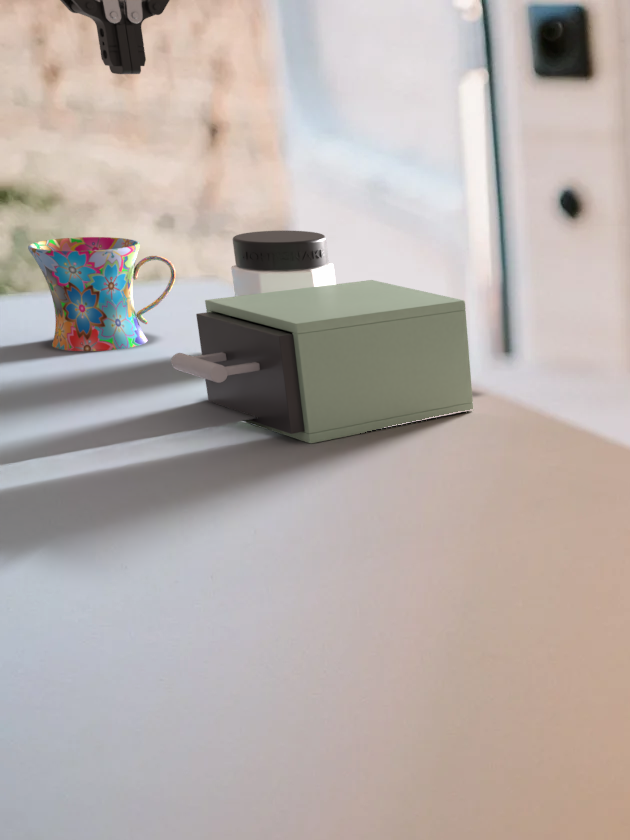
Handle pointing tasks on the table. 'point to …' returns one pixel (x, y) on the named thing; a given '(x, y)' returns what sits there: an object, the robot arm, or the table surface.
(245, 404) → the dark drawer with handle
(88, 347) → the mug
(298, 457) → the table surface
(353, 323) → the green drawer cabinet
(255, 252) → the jar
